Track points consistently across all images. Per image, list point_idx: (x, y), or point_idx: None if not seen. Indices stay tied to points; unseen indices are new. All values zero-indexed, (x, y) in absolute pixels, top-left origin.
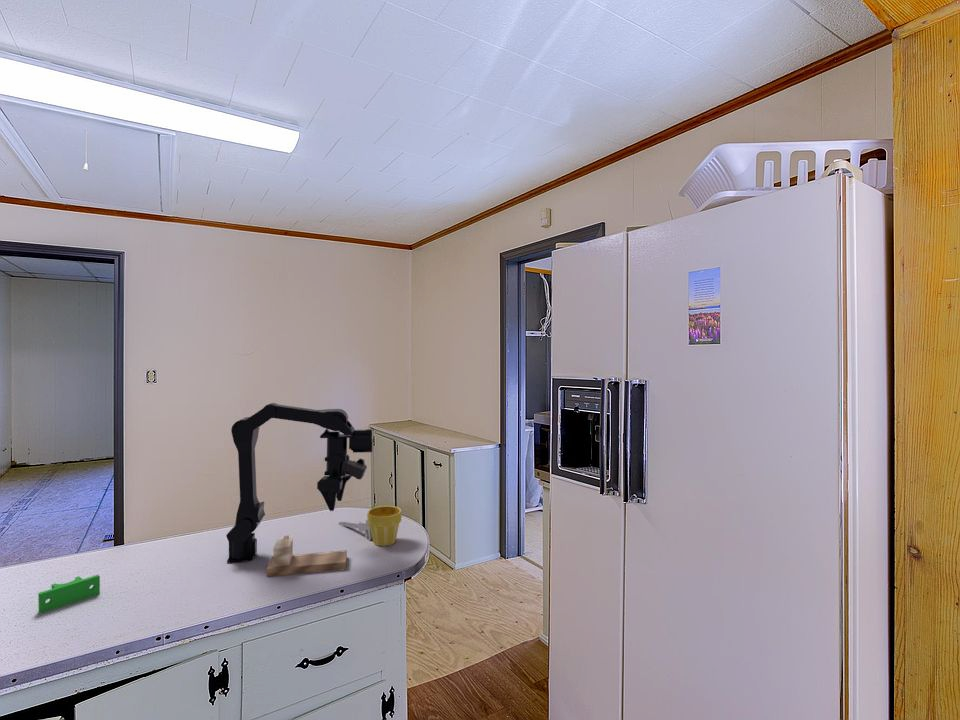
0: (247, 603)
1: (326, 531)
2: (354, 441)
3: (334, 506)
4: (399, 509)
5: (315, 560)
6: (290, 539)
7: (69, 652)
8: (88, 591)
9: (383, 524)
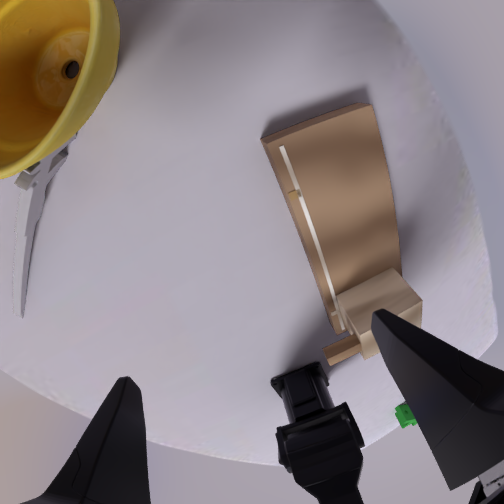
0: (473, 250)
1: (80, 321)
2: None
3: (399, 325)
4: None
5: (365, 216)
6: (368, 334)
7: (491, 331)
8: (406, 409)
9: (113, 4)
